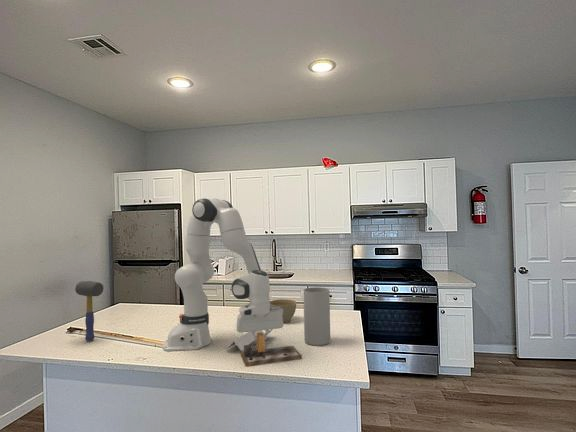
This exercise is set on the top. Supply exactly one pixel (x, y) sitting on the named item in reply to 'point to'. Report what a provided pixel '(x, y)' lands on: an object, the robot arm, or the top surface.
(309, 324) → the cylinder vase
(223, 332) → the top surface
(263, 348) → the sliding jaw
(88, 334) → the rubber mallet
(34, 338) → the top surface
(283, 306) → the planter bowl
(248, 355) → the gauge board
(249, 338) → the z bracket
